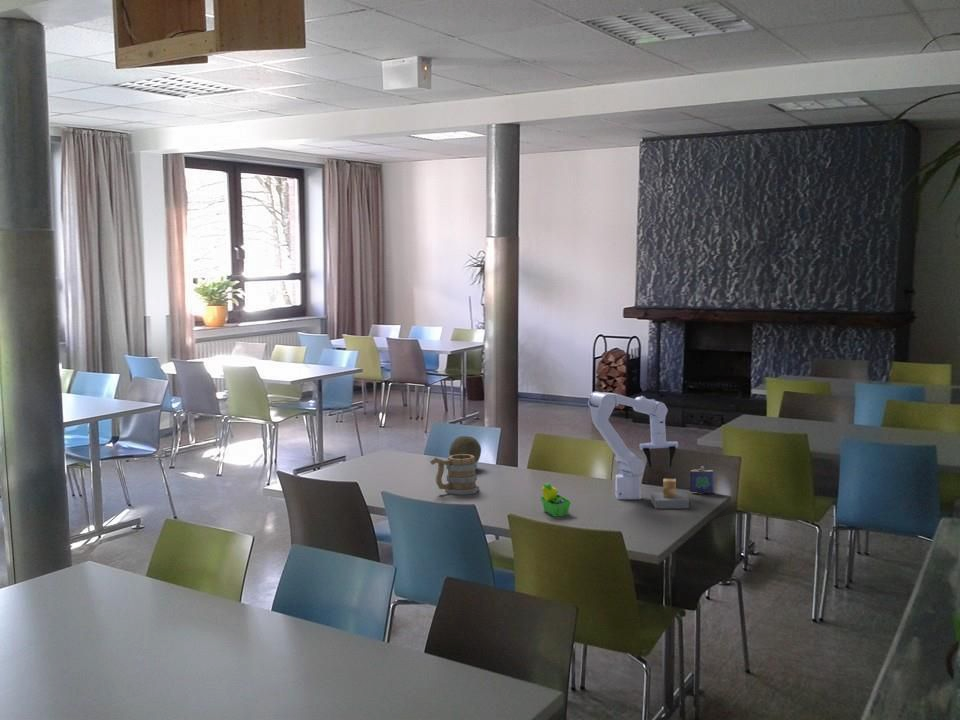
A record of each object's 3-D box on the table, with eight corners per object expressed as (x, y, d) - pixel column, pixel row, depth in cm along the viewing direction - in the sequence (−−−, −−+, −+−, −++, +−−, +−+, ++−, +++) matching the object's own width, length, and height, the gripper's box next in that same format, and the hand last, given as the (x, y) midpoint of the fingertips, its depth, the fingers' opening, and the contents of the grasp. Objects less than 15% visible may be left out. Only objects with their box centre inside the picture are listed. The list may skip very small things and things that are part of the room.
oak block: (663, 497, 324) (663, 481, 324) (663, 494, 329) (663, 478, 328) (675, 497, 323) (675, 481, 323) (675, 494, 328) (675, 478, 327)
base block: (655, 508, 320) (655, 500, 320) (651, 500, 332) (650, 492, 332) (689, 508, 320) (689, 500, 319) (683, 499, 332) (683, 492, 331)
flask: (713, 492, 342) (713, 465, 341) (714, 494, 339) (714, 466, 338) (689, 492, 343) (689, 465, 342) (690, 494, 340) (690, 467, 339)
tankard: (469, 485, 362) (469, 449, 361) (483, 492, 351) (482, 455, 349) (424, 491, 354) (423, 455, 352) (436, 498, 342) (435, 460, 341)
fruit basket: (572, 515, 313) (571, 484, 312) (549, 518, 310) (549, 487, 309) (558, 508, 324) (558, 478, 323) (536, 510, 321) (536, 480, 320)
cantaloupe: (481, 472, 386) (481, 438, 385) (449, 473, 386) (448, 439, 384) (481, 465, 400) (480, 433, 399) (450, 466, 400) (449, 434, 398)
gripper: (675, 428, 344) (677, 462, 346) (638, 431, 345) (640, 464, 347) (678, 432, 337) (680, 467, 339) (639, 434, 338) (642, 469, 340)
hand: (660, 466), depth 342 cm, fingers open, 7 cm apart
